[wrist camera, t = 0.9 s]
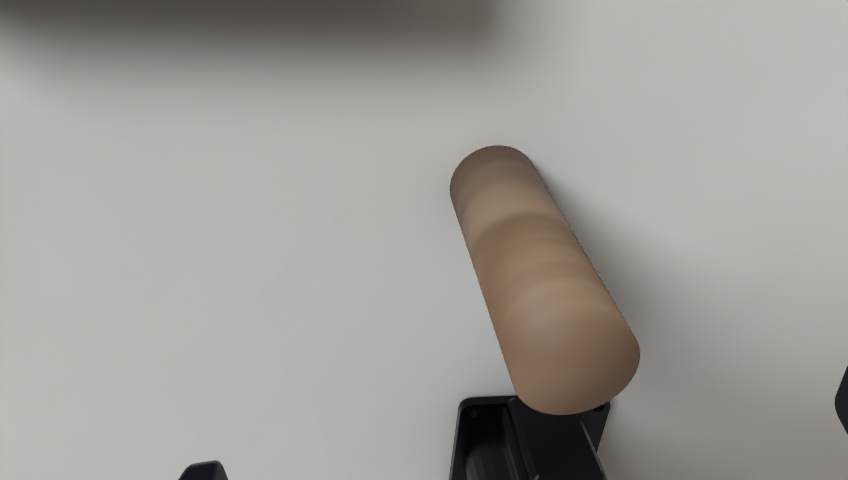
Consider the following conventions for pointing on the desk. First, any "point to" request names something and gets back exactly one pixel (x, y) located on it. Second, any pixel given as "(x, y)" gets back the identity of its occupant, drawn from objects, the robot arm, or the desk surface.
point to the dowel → (540, 287)
